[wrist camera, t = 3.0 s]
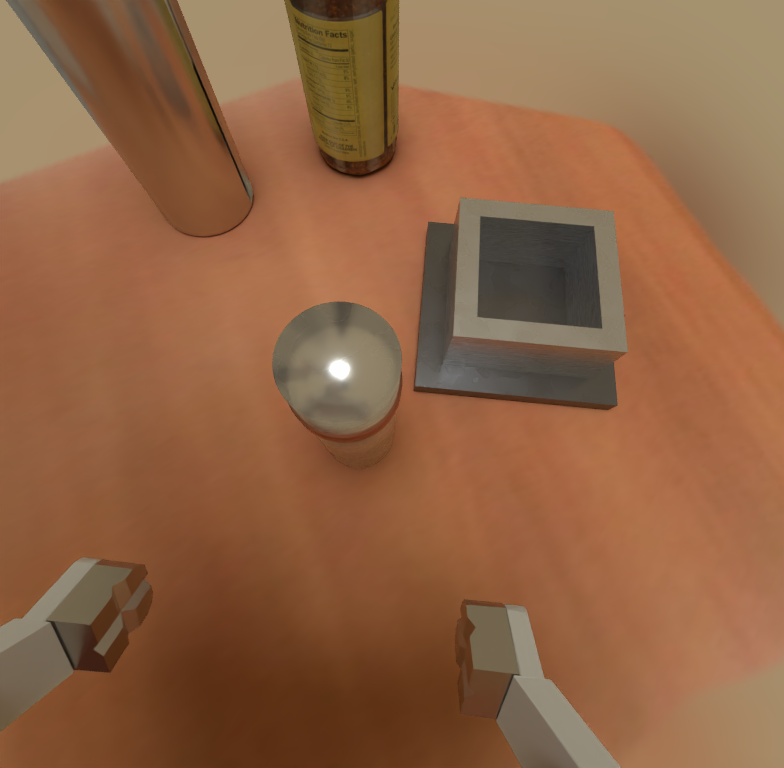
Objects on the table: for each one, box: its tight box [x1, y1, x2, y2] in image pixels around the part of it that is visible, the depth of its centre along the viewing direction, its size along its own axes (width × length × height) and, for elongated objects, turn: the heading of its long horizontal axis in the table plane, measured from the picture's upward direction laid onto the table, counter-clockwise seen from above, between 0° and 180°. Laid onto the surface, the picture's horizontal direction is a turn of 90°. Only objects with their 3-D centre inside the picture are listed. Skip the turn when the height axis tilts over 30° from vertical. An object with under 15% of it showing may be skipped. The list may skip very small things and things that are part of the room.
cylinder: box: [273, 302, 402, 468], centre depth 18 cm, size 4×4×12 cm
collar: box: [414, 198, 628, 410], centre depth 24 cm, size 12×12×5 cm
